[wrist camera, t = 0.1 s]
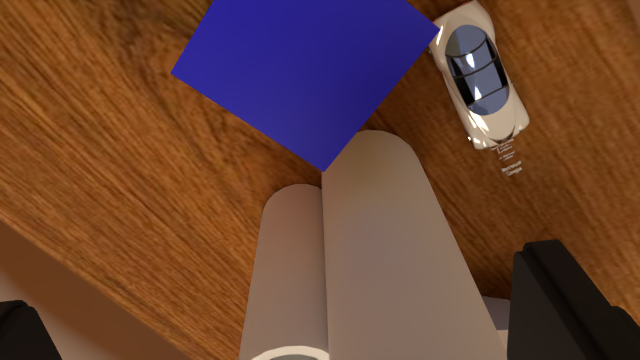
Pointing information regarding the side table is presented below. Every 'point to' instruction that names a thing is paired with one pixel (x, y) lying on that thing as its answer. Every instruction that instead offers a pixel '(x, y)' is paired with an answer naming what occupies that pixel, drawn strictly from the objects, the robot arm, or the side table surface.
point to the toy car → (477, 76)
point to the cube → (304, 65)
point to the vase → (364, 268)
